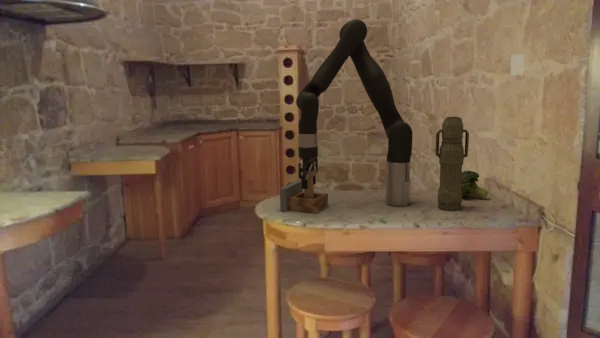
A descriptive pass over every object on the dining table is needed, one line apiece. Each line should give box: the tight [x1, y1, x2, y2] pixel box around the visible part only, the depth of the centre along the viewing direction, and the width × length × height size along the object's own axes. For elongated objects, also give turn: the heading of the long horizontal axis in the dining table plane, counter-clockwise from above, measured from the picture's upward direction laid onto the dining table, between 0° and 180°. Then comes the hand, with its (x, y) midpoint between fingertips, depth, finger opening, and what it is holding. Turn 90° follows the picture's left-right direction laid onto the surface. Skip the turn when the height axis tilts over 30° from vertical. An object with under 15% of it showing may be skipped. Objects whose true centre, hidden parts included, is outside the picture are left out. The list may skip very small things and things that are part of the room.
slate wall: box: [279, 179, 303, 213], centre depth 190 cm, size 2×17×9 cm, turn 157°
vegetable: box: [461, 170, 489, 200], centre depth 199 cm, size 12×13×15 cm
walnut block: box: [287, 191, 329, 214], centre depth 187 cm, size 12×12×5 cm
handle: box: [304, 170, 318, 199], centre depth 186 cm, size 5×6×15 cm
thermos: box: [435, 116, 470, 212], centre depth 181 cm, size 9×12×35 cm
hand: (308, 186), depth 185 cm, fingers open, 8 cm apart
